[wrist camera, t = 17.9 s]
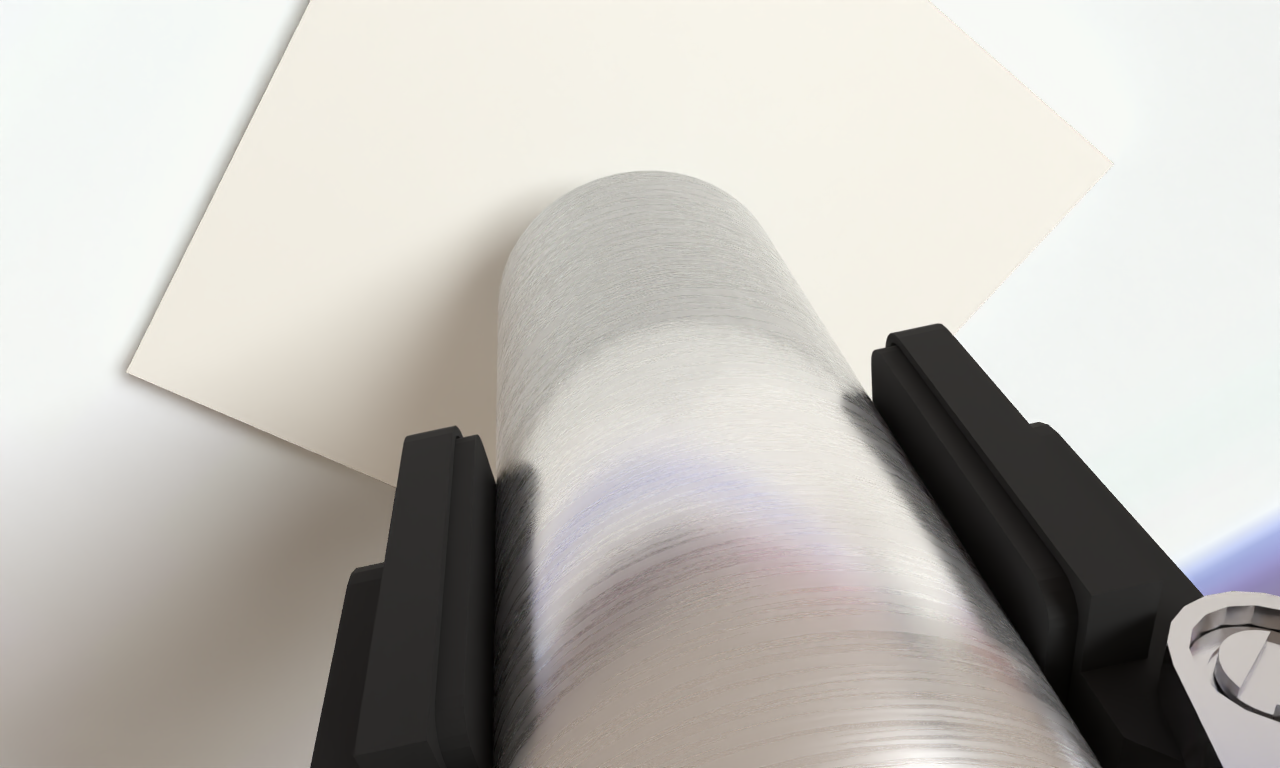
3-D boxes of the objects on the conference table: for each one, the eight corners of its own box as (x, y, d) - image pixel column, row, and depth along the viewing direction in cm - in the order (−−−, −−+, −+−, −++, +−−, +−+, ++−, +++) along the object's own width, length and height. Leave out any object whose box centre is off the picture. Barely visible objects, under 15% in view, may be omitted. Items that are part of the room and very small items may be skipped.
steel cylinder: (768, 142, 13) (1736, 1335, 3) (792, 395, 15) (1357, 1536, 5) (463, 205, 13) (311, 1672, 3) (534, 451, 15) (596, 1715, 5)
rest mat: (1094, 152, 16) (1114, 164, 15) (688, 594, 20) (693, 614, 20) (498, -371, 11) (498, -380, 11) (137, 354, 16) (125, 372, 15)
